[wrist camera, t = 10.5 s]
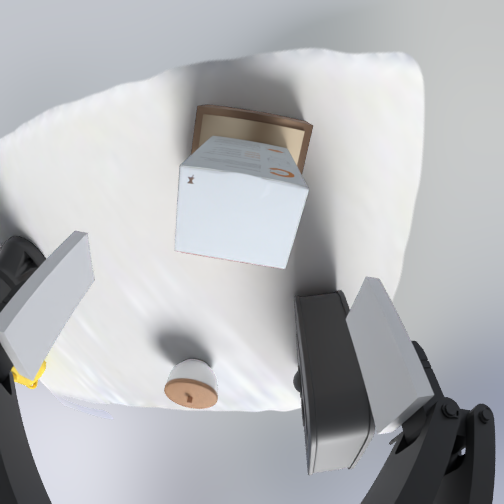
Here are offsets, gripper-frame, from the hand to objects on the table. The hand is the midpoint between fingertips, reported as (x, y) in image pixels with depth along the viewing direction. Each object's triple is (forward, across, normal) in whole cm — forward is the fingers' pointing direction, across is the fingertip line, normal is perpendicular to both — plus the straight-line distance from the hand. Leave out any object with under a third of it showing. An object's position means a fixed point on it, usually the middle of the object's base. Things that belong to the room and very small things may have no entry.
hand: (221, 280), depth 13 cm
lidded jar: (+26, -4, -44) cm, 51 cm away
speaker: (+26, +17, -29) cm, 42 cm away
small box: (+20, 0, 0) cm, 20 cm away
